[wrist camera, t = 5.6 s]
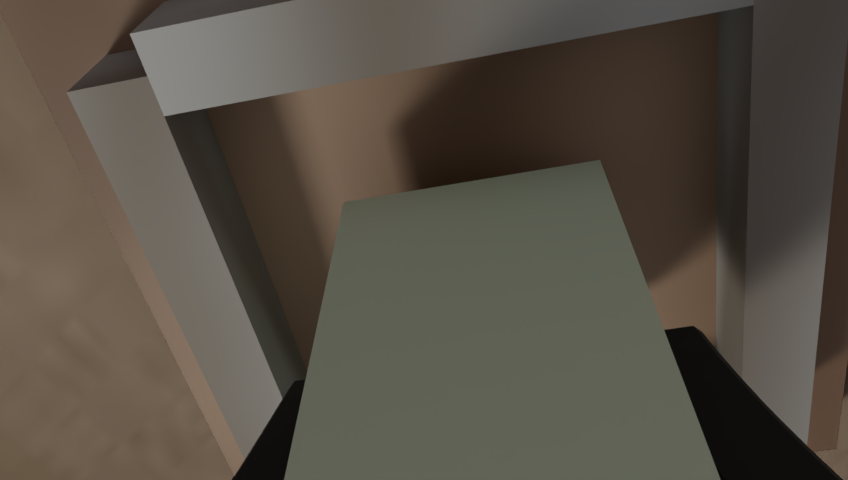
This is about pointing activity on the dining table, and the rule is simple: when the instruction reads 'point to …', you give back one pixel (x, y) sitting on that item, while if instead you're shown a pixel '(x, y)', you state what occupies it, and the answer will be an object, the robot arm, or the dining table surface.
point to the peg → (493, 342)
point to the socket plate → (459, 161)
